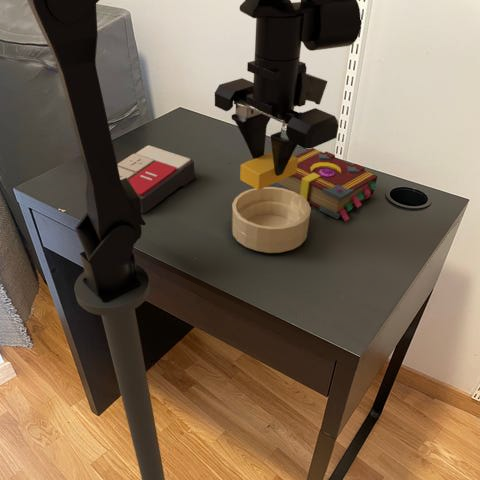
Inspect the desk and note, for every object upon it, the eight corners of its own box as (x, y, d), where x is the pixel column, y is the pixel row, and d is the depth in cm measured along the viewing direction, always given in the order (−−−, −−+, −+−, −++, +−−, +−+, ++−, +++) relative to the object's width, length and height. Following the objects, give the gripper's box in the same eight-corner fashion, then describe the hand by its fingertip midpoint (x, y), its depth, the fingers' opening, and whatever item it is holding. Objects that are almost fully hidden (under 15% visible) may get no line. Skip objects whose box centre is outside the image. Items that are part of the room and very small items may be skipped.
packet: (258, 190, 70) (259, 174, 68) (240, 179, 72) (240, 164, 70) (296, 173, 73) (298, 158, 72) (277, 163, 76) (279, 148, 74)
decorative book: (310, 168, 95) (313, 143, 92) (379, 200, 87) (385, 174, 84) (271, 187, 89) (273, 162, 86) (341, 223, 81) (346, 197, 78)
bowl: (268, 266, 73) (270, 238, 69) (216, 230, 79) (216, 203, 75) (322, 236, 78) (326, 209, 75) (270, 205, 85) (272, 179, 81)
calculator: (91, 176, 83) (147, 141, 92) (97, 198, 86) (150, 161, 95) (141, 195, 79) (194, 156, 88) (145, 217, 82) (196, 177, 91)
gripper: (376, 60, 60) (352, 176, 71) (270, 27, 69) (264, 133, 80) (316, 79, 54) (300, 201, 65) (211, 41, 64) (213, 153, 75)
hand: (269, 169), depth 72 cm, fingers closed on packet, 4 cm apart
